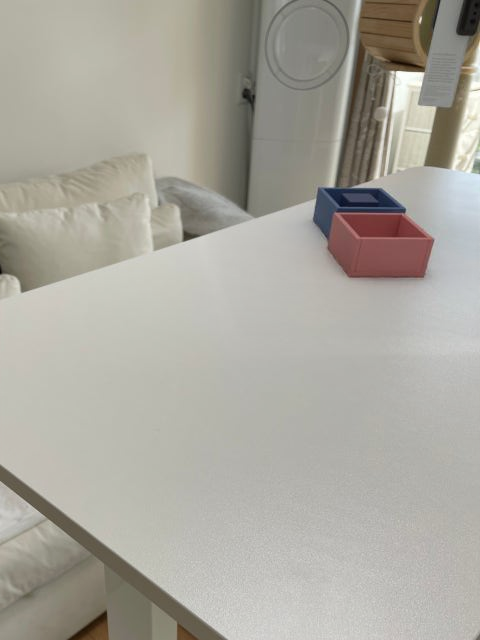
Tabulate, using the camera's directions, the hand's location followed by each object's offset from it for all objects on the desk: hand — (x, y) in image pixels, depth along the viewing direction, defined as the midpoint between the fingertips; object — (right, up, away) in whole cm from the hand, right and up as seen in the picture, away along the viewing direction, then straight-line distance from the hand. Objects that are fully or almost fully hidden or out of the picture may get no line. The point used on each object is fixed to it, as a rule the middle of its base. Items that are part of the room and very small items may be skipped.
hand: (451, 32), depth 79 cm
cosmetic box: (0, -7, +5) cm, 8 cm away
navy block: (-9, -21, +11) cm, 25 cm away
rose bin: (-9, -28, +2) cm, 29 cm away
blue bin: (-9, -21, +11) cm, 25 cm away
